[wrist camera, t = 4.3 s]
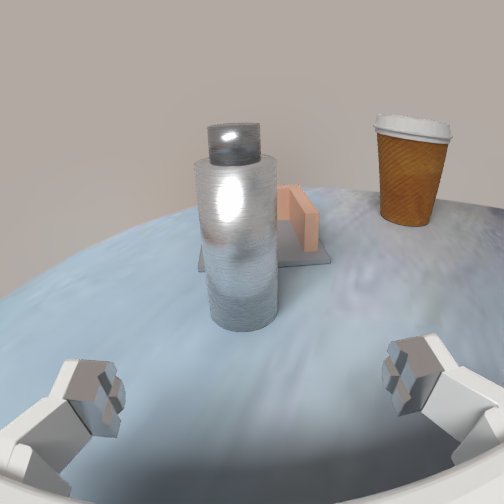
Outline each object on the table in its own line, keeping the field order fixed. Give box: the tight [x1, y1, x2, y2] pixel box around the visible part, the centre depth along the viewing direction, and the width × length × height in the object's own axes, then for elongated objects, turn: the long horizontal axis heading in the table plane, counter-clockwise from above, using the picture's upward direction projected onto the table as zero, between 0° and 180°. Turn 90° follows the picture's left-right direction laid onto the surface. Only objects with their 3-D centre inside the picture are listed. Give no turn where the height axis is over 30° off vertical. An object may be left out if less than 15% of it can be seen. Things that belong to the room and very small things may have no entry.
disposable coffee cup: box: [373, 114, 453, 226], centre depth 34 cm, size 10×10×12 cm
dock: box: [198, 185, 331, 272], centre depth 31 cm, size 11×11×4 cm
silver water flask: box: [194, 123, 278, 332], centre depth 19 cm, size 4×4×12 cm
